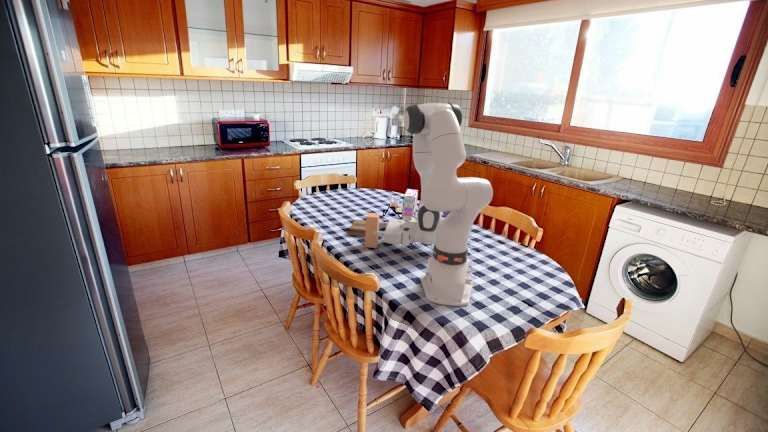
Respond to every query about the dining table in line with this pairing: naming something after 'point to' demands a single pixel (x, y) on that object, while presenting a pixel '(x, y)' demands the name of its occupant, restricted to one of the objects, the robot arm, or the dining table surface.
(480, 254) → the dining table surface
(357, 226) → the walnut riser
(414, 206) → the candy box
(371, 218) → the terracotta block
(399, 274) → the dining table surface
